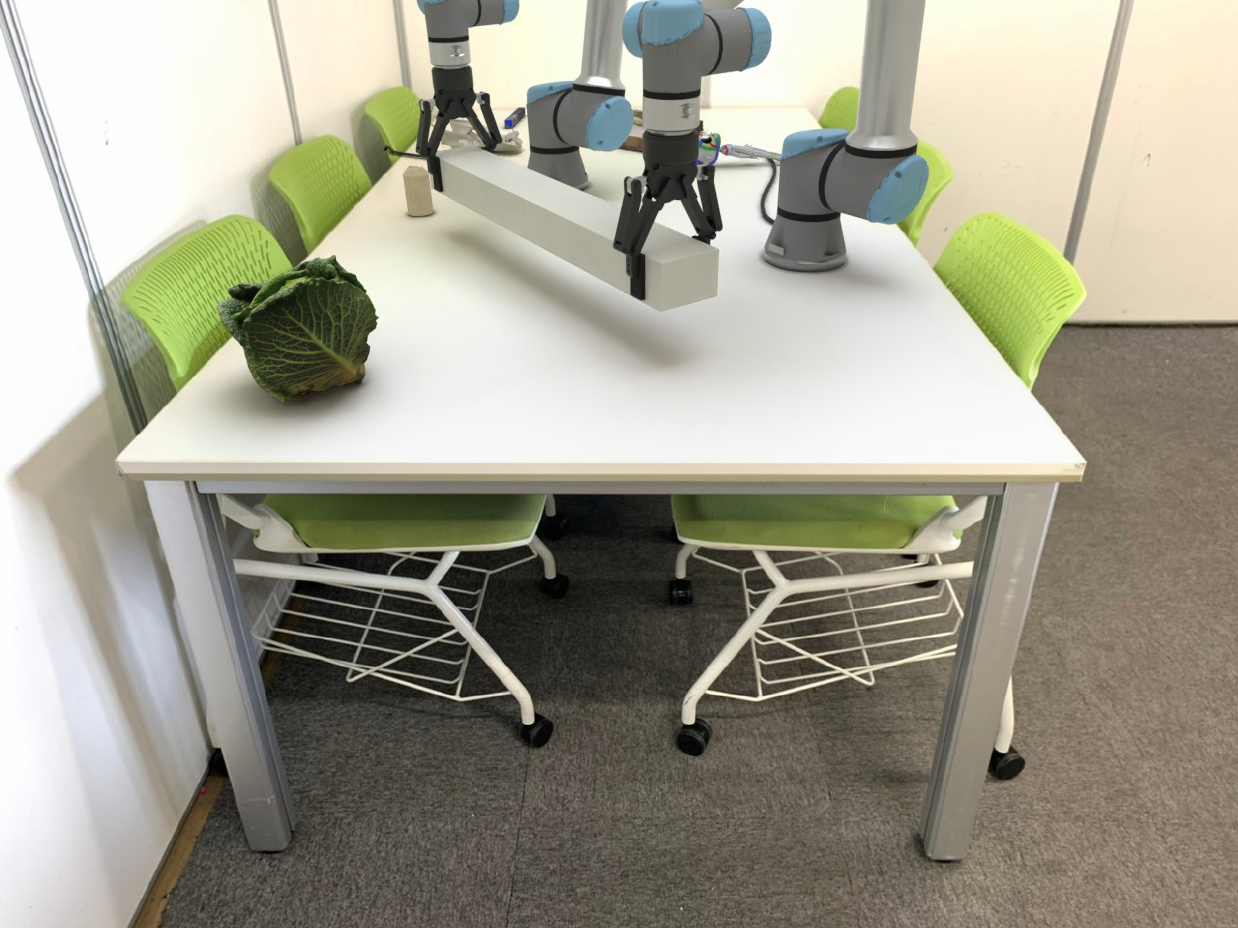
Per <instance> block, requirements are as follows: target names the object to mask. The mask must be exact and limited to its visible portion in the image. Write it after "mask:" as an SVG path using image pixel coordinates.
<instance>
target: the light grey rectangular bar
mask: <svg viewBox="0 0 1238 928" xmlns="http://www.w3.org/2000/svg"><path fill="white" fill-rule="evenodd" d="M435 156H437V157H439V158H440V166H441V174H442V182H443V191H444V192H439V191H437V190H435V189H434V181H433V175H432V174H430V173H429V179H430V187H431V190H434V191H435V192H437V193H439V194H441V195H442V196H445V197H447V198H448V199H450V200H452V201H454V202H456V203H458V204H459V205H461V206H463V207H465V208H467V209H469V210H471V211H472V212H474V213H476V214H478V215H480V216H482V217H484V218H485V219H487V220H489V221H491V222H492V223H495V224H496V225H498V226H500V227H502V228H504V229H506V230H507V231H509V232H511V233H514V234H515V235H517V236H519V237H520V238H522V239H524V240H526V241H528V242H530V243H532V244H534V245H536V246H537V247H539V248H541V249H543V250H545V251H547V252H548V253H550V254H552V255H554V256H556V257H558V258H559V259H562V260H563V261H565V262H567V263H569V264H570V265H573V266H575V267H576V268H577V269H580V270H582V271H583V272H586V273H587V274H589V275H591V276H593V277H595V278H596V279H599V280H600V281H602V282H604V283H606V284H608V285H610V286H612V287H614V288H615V289H617V290H619V291H620V292H623V293H624V294H626V295H628V296H629V297H632V298H634V299H635V300H637V301H639V302H641V303H642V304H645V305H646V306H649V307H650V308H651V309H653V310H656V311H658V312H659V313H662V312H665V311H670V310H673V309H677V308H680V307H683V306H686V305H692V304H694V303H699V302H701V301H705V300H709V299H712V298H716V297H718V286H719V285H718V284H719V263H720V262H719V261H720V248H718V247H716V246H713V245H712V244H710V245H708V244H706V243H704V242H701V241H699V240H697V239H694V238H692V236H689V235H687V234H685V233H682V232H680V231H677V230H675V229H673V228H671V227H668V226H666V225H663V224H661V223H659V222H656V221H654V223H653V226H652V228H651V230H650V232H649V235H648V237H647V239H646V241H645V244H644V246H643V248H642V250H641V253H642V254H644V255H645V300H642V301H641V300H639V299H637V298H635V297H633V296H631V295H630V276H628V275H627V273H626V254H624V253H621V252H619V251H617V250H615V249H614V248H613V242H614V238H615V234H616V229H617V225H618V220H619V216H620V211H621V207H622V206H618V205H615V204H613V203H611V202H608V201H607V200H604V199H601V198H600V197H597V196H594V195H593V194H590V193H588V192H586V191H583V190H578V189H576V188H573V187H571V186H569V185H566V184H564V183H561V182H559V181H557V180H554V179H552V178H550V177H547V176H545V175H542V174H540V173H538V172H535V171H533V170H531V169H528V168H527V167H526V166H523V165H522V164H519V163H516V162H514V161H511V160H510V159H507V158H504V157H502V156H500V155H497V154H495V153H494V154H493V153H490V152H488V151H486V150H483V149H481V148H478V147H476V146H474V145H472V146H466V147H459V148H447V149H441V150H437V153H436V155H435Z"/></svg>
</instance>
